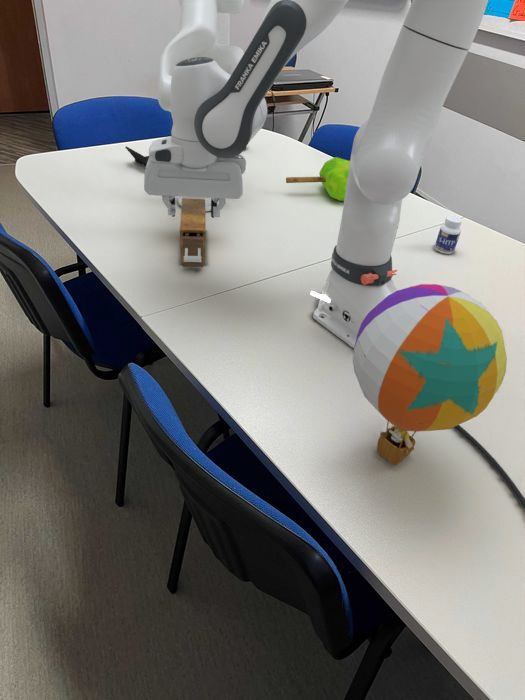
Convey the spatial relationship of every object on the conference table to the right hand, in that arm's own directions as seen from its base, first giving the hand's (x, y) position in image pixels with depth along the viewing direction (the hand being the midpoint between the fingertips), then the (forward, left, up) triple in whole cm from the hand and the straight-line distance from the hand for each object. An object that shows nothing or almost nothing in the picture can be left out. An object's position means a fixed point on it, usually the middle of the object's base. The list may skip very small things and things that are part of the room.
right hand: (194, 215), depth 111 cm
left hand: (+17, -6, -8) cm, 19 cm away
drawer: (+7, -2, -14) cm, 16 cm away
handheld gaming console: (+71, -10, -15) cm, 73 cm away
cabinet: (+13, -5, -15) cm, 20 cm away
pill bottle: (-10, -68, -15) cm, 70 cm away
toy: (-62, -10, -15) cm, 65 cm away
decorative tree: (+32, -58, -15) cm, 68 cm away
